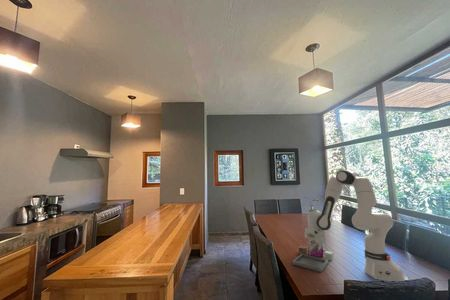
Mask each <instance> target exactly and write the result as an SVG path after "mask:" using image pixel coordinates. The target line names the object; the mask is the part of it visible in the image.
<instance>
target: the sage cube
mask: <svg viewBox="0 0 450 300" xmlns="http://www.w3.org/2000/svg"><path fill="white" fill-rule="evenodd" d="M323 256H324V259H326V260H329V261H333V260H334V252H333V251H328V250H325V251H323Z"/></svg>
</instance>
